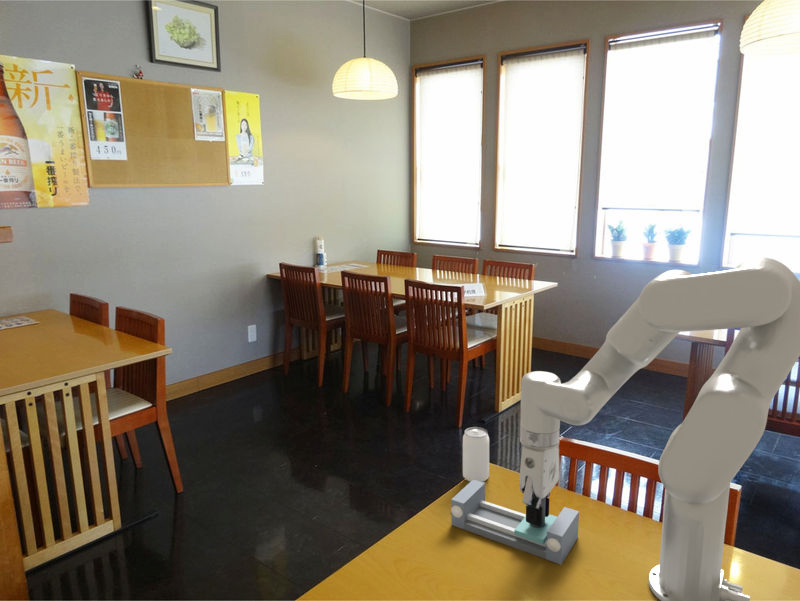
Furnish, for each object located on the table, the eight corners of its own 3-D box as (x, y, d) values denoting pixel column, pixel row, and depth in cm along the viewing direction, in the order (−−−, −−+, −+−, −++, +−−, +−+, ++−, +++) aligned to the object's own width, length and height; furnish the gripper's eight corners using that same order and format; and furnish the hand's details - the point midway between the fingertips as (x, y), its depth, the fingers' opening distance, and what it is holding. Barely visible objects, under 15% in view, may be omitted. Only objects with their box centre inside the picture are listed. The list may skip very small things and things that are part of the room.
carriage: (559, 521, 117) (560, 486, 116) (543, 544, 110) (544, 507, 108) (531, 512, 120) (532, 478, 119) (514, 534, 113) (515, 498, 112)
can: (488, 470, 144) (488, 426, 141) (489, 483, 138) (490, 438, 135) (462, 470, 145) (462, 426, 142) (462, 483, 138) (462, 437, 136)
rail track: (577, 537, 116) (578, 511, 115) (560, 565, 108) (561, 537, 106) (473, 503, 129) (473, 479, 128) (450, 525, 121) (450, 500, 120)
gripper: (542, 455, 102) (540, 546, 106) (572, 424, 116) (569, 505, 119) (504, 446, 107) (503, 533, 110) (537, 416, 120) (535, 495, 123)
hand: (537, 518), depth 115 cm, fingers closed on carriage, 3 cm apart
